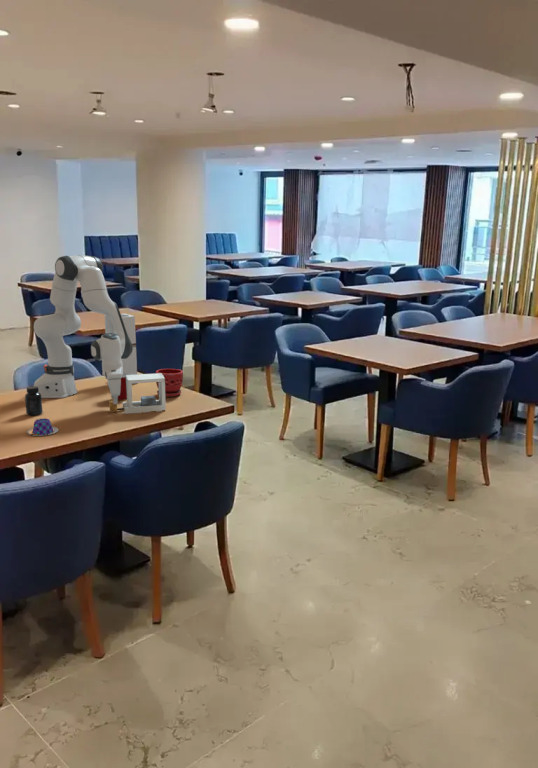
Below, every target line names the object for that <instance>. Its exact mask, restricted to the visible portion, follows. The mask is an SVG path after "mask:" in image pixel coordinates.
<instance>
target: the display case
mask: <svg viewBox="0 0 538 768" xmlns="http://www.w3.org/2000/svg"><path fill="white" fill-rule="evenodd" d="M120 314H121V317H122V320H123V323H124V326H125V328H126V331H127V334H128V337H129V339H130V341H131V343H132V347H133V351H132V353H131V355H130V356H129V357H128V358H126V359H121V360H122V364H123V373H129V374H133V375H138V362H137V337H136V316H135V315H132V314H128V313H120ZM104 330H105V331H104V334H106V333H114V334H116V333H115V330H114V327H113V324H112V321H111V319H110V318H109V317H107V316H106V315H104ZM137 384H138V383H133V384H132V385H137Z"/></svg>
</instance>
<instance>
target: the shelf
mask: <svg viewBox="0 0 538 768" xmlns="http://www.w3.org/2000/svg"><path fill="white" fill-rule="evenodd" d="M156 382H159V389H158V390H159V394H158V399H156V405H152V406H141V400H139V401H133V387H132V386H133V385H134V384H133V383H137V384H145V383H156ZM126 389H127V399H126V401H123V402H122V408H124V410H123V411H124V414H126V415H128V414H141V413H142V412H143V413H151V412H150V411H156V412H163V411H162V410H167V408H166V407H167V406H166V397H165V378H164V376H163V375H162V373H156V372H155V373H144V374H143V373H141V374H140V373H138V374H137V375H126ZM143 413H142V414H143Z"/></svg>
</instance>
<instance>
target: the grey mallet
mask: <svg viewBox="0 0 538 768" xmlns="http://www.w3.org/2000/svg"><path fill="white" fill-rule="evenodd" d="M156 400H157V398H156V397H155V395H144V396H140V401H141V406H152V405H156ZM118 411H124V408H123V407H119V408H118V404H113V399H112V400H109V413H118Z"/></svg>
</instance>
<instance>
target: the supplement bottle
mask: <svg viewBox="0 0 538 768" xmlns="http://www.w3.org/2000/svg"><path fill="white" fill-rule="evenodd" d="M38 391H39V390H38V387H37V386H34V385H33V386H28V387H26V394H25V395H24V401H25V402H24V403H25V411H26V412H25V413H26V415H27V416H29V415H30V416H29V417H35V416H36V415H37V416H40V414H41V415H42V414H43V402H42V401H43V398H41V394H40V393H39V392H38Z"/></svg>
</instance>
